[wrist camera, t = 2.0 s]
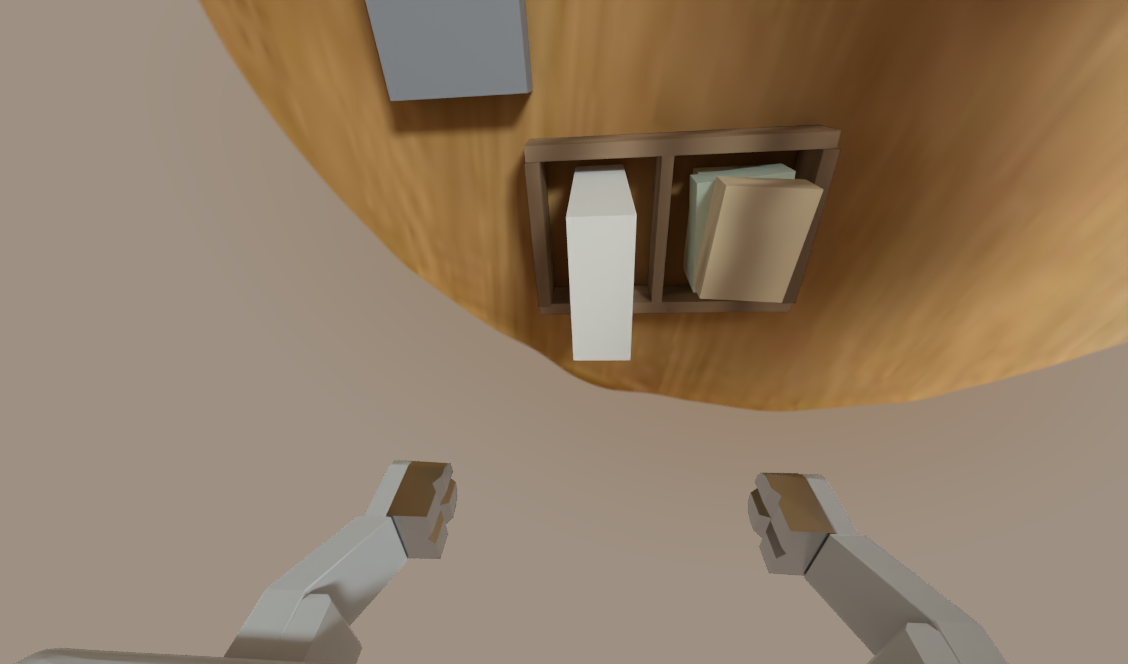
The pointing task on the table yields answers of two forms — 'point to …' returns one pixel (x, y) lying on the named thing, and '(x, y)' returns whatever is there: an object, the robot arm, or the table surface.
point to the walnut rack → (810, 164)
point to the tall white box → (601, 262)
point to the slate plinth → (452, 47)
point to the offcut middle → (702, 198)
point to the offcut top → (754, 237)
